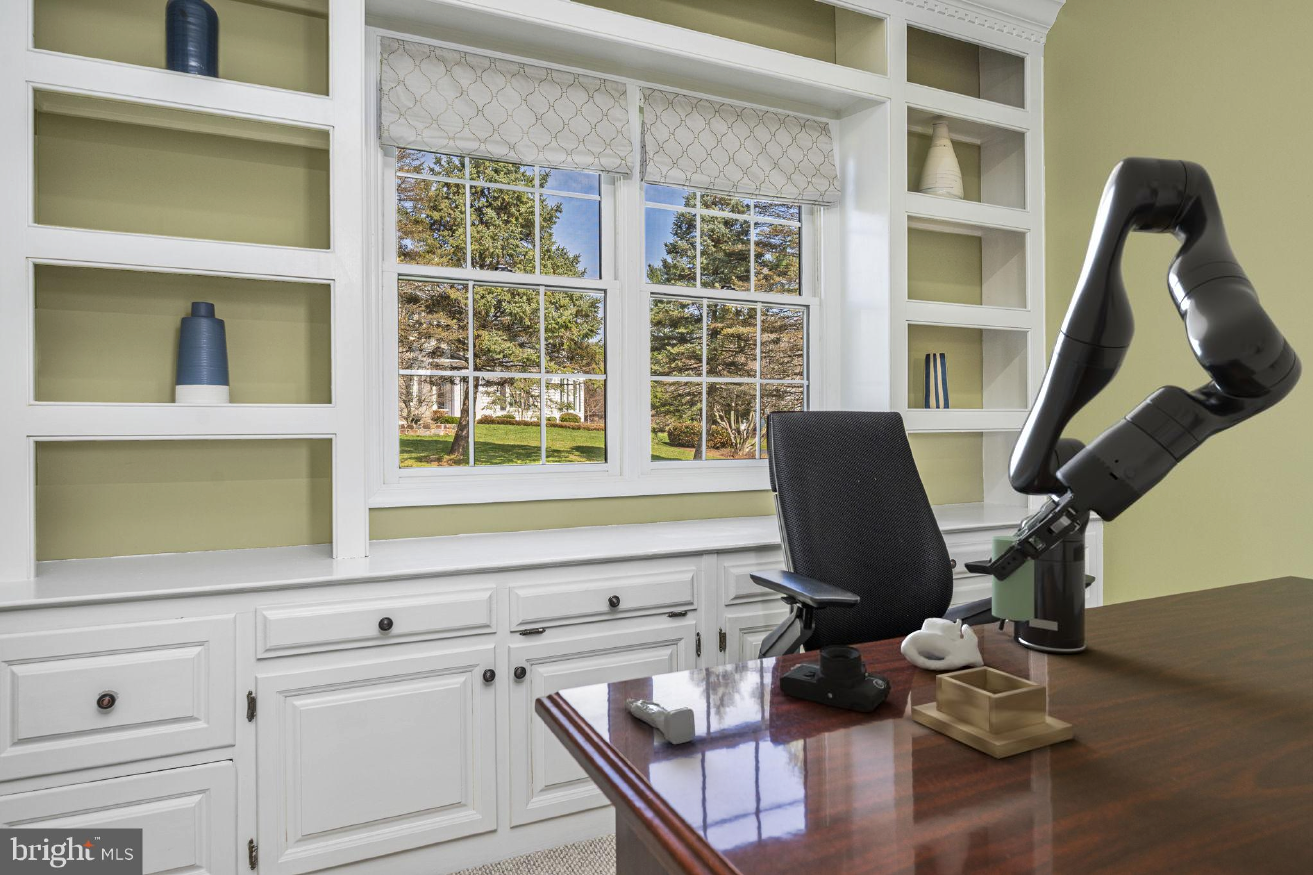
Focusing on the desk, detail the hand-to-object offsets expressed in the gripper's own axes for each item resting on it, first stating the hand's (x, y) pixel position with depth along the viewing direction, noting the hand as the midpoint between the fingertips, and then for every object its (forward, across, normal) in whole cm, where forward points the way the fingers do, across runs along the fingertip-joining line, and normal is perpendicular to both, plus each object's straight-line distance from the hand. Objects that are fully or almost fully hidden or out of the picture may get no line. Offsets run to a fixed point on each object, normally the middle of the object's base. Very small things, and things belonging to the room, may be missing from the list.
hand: (994, 570), depth 87 cm
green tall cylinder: (+2, 0, +5) cm, 5 cm away
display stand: (+13, +2, +12) cm, 18 cm away
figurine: (+38, +18, -12) cm, 43 cm away
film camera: (+26, -1, 0) cm, 26 cm away
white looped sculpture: (+17, -21, +8) cm, 28 cm away
